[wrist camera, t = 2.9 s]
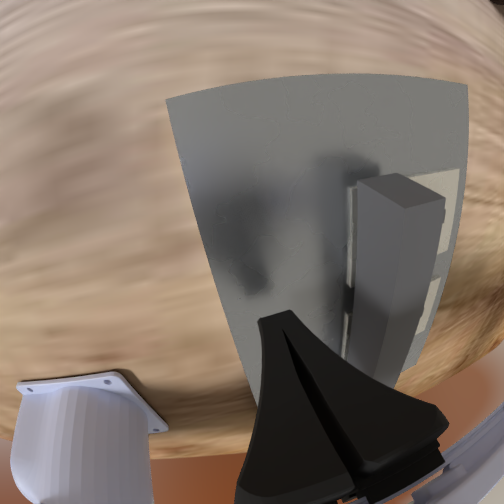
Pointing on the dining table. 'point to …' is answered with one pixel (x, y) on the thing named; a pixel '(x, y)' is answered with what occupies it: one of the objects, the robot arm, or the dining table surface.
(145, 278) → the dining table surface
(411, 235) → the cable arm
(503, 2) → the coffee mug
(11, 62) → the dining table surface
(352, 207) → the plate
